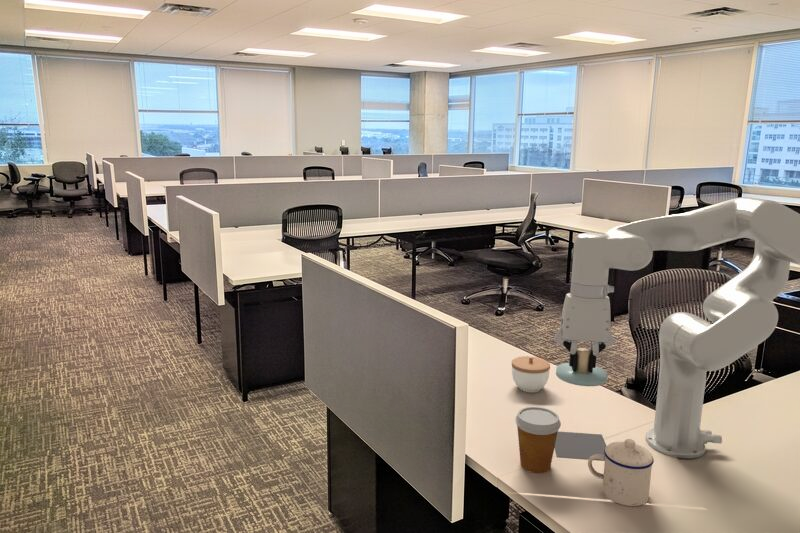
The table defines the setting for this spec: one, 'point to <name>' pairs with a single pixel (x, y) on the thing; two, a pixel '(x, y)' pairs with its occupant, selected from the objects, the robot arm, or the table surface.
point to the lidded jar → (530, 373)
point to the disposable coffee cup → (537, 437)
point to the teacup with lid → (625, 472)
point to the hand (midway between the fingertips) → (581, 369)
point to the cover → (582, 371)
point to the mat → (579, 445)
